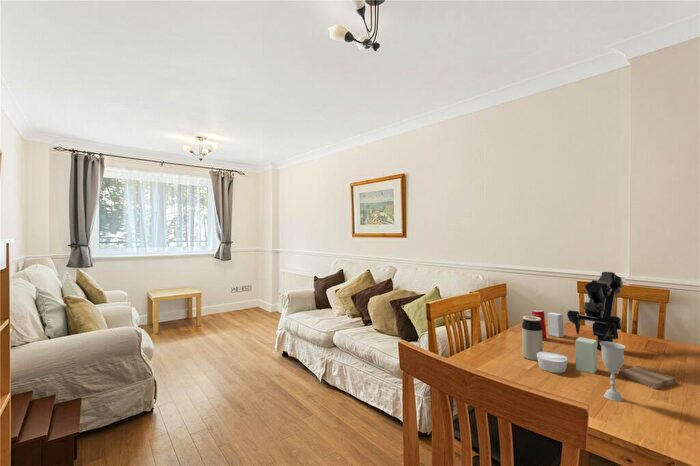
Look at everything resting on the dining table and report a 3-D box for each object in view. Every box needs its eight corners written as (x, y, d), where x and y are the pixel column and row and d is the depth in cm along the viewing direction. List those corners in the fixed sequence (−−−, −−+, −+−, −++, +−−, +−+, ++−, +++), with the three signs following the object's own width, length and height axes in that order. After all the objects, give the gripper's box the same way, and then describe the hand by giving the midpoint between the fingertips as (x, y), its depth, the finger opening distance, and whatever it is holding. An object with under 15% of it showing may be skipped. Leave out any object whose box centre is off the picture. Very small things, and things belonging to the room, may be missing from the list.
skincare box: (564, 336, 179) (563, 314, 179) (558, 337, 177) (558, 315, 177) (552, 333, 184) (552, 311, 184) (547, 334, 182) (547, 312, 182)
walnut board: (638, 370, 134) (638, 366, 134) (675, 383, 123) (675, 378, 123) (618, 375, 130) (618, 370, 130) (656, 389, 119) (655, 383, 119)
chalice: (595, 392, 117) (594, 341, 117) (613, 391, 117) (612, 340, 117) (613, 403, 110) (612, 349, 110) (632, 402, 110) (631, 348, 110)
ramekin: (557, 376, 130) (557, 363, 130) (530, 366, 140) (530, 354, 140) (574, 370, 136) (573, 357, 136) (547, 361, 145) (546, 349, 145)
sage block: (580, 365, 141) (579, 337, 141) (597, 369, 136) (596, 340, 136) (575, 369, 137) (575, 340, 137) (593, 373, 132) (593, 343, 132)
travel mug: (523, 359, 148) (522, 319, 148) (521, 353, 155) (521, 315, 155) (544, 361, 145) (543, 320, 145) (541, 355, 152) (540, 316, 152)
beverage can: (548, 340, 173) (547, 311, 173) (534, 340, 174) (534, 311, 174) (544, 337, 178) (543, 309, 178) (531, 336, 180) (530, 308, 180)
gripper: (567, 292, 151) (560, 321, 144) (620, 297, 137) (614, 329, 130) (573, 306, 156) (566, 335, 149) (624, 313, 142) (619, 345, 135)
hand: (590, 336), depth 141 cm, fingers open, 9 cm apart
